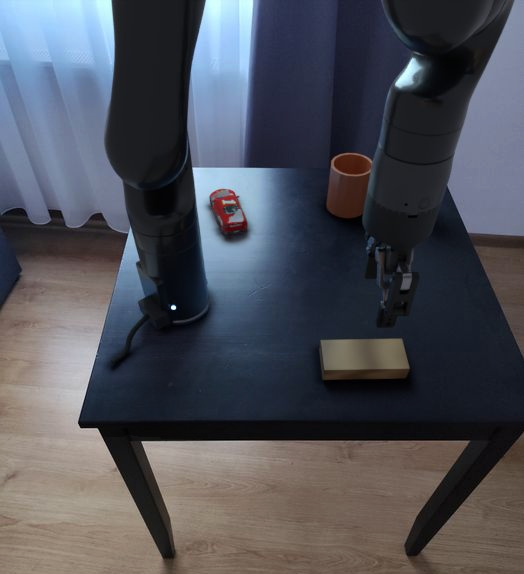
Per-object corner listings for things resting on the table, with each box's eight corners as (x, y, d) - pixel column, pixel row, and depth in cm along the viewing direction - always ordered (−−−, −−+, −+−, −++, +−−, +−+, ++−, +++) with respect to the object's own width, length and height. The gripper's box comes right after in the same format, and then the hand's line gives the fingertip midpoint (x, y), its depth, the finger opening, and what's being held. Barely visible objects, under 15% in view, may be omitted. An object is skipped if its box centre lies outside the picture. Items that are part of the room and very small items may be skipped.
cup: (346, 223, 91) (352, 181, 84) (318, 204, 95) (322, 162, 88) (374, 207, 94) (383, 165, 87) (345, 190, 98) (352, 148, 91)
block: (322, 379, 68) (324, 370, 66) (319, 349, 72) (320, 339, 70) (405, 378, 68) (409, 368, 67) (398, 348, 72) (402, 338, 70)
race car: (207, 200, 96) (205, 182, 93) (234, 195, 97) (232, 177, 94) (221, 240, 88) (220, 222, 85) (250, 235, 89) (249, 216, 86)
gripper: (357, 151, 52) (341, 264, 65) (381, 233, 43) (357, 345, 56) (425, 149, 52) (396, 262, 65) (464, 230, 43) (420, 342, 56)
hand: (378, 300), depth 61 cm, fingers open, 8 cm apart
